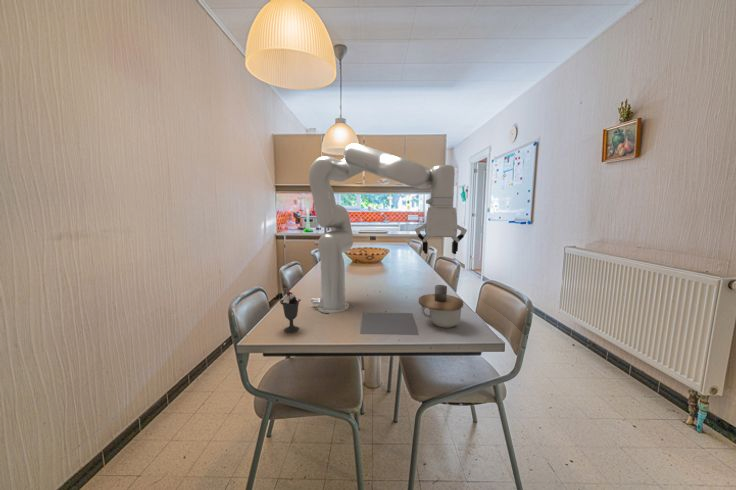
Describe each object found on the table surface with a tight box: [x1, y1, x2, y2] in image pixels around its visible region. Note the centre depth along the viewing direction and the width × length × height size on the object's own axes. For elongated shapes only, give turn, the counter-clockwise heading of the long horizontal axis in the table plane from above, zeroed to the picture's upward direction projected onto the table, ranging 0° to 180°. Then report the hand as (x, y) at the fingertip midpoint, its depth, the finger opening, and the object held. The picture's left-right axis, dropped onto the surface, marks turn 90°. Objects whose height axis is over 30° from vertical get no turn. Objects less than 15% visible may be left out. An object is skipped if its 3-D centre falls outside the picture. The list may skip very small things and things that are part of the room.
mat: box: [359, 311, 420, 336], centre depth 102 cm, size 19×19×1 cm
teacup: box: [420, 306, 462, 329], centre depth 101 cm, size 14×11×8 cm
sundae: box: [279, 285, 302, 334], centre depth 96 cm, size 7×7×15 cm
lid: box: [418, 284, 464, 311], centre depth 100 cm, size 15×15×6 cm
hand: (439, 253), depth 99 cm, fingers open, 9 cm apart
